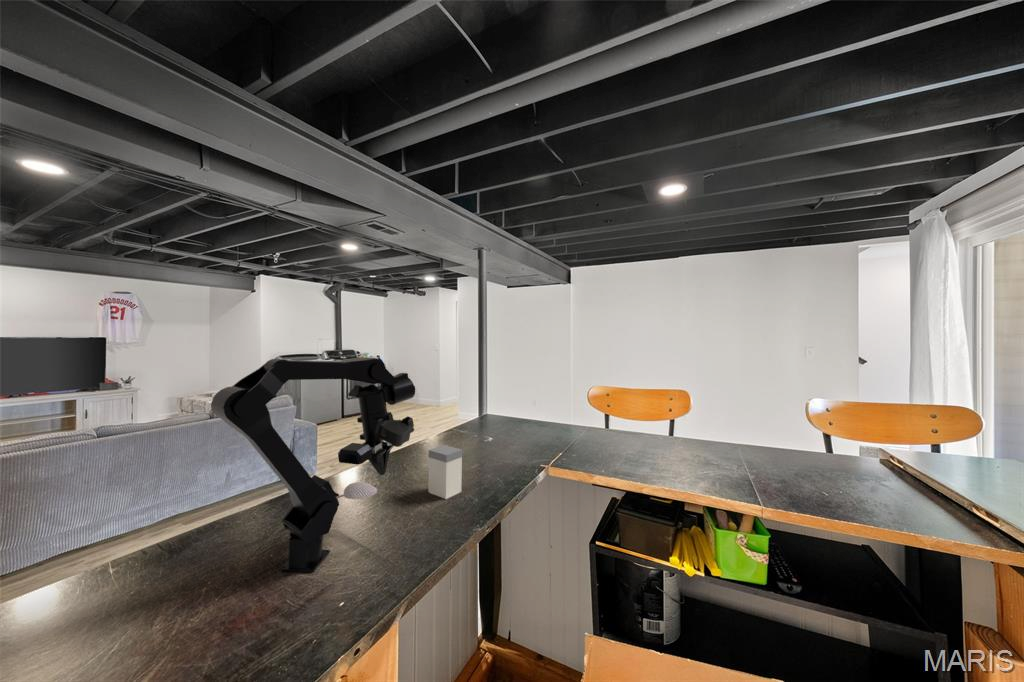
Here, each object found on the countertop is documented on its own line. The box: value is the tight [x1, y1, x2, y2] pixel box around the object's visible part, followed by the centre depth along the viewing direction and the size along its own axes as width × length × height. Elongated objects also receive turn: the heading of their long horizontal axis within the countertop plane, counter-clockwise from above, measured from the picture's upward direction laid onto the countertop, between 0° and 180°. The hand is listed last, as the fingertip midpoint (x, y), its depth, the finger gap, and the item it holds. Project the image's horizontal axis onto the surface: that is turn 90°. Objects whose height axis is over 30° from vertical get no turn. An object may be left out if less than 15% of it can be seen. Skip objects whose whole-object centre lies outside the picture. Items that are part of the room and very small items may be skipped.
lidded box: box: [428, 444, 463, 500], centre depth 103 cm, size 6×7×12 cm
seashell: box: [343, 481, 378, 500], centre depth 102 cm, size 10×6×10 cm
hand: (382, 474), depth 86 cm, fingers closed
